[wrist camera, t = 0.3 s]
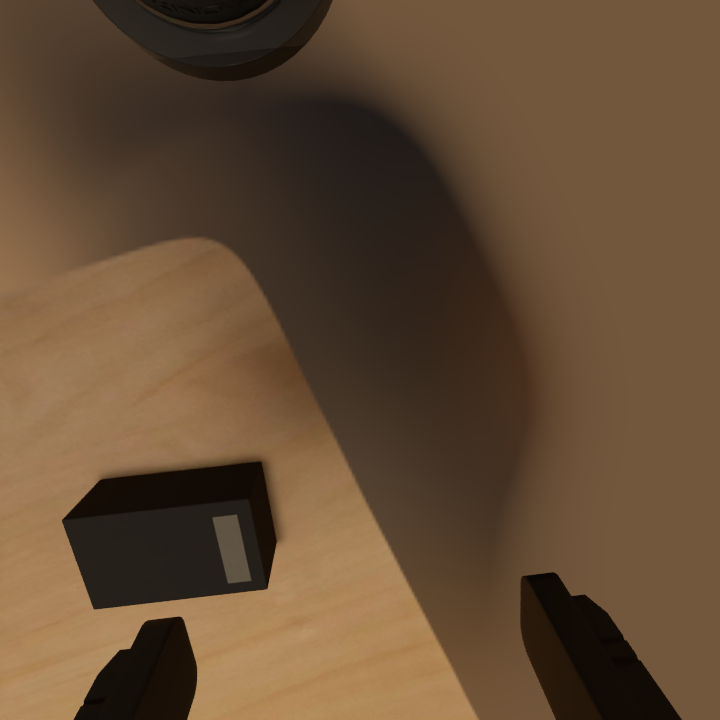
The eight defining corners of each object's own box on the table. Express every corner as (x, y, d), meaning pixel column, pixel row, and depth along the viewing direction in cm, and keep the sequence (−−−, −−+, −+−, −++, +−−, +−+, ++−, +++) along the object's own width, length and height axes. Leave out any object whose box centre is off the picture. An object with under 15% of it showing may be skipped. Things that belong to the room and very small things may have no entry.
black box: (99, 479, 24) (59, 521, 21) (261, 461, 24) (248, 499, 21) (125, 560, 26) (92, 611, 22) (276, 542, 26) (267, 590, 22)
